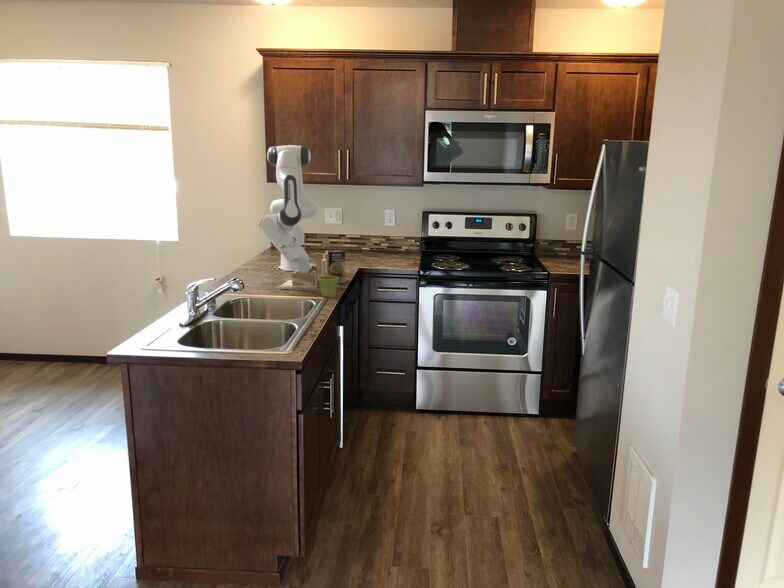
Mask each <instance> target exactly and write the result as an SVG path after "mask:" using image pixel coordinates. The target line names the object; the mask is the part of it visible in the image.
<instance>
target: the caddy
mask: <svg viewBox="0 0 784 588" xmlns="http://www.w3.org/2000/svg"><path fill="white" fill-rule="evenodd" d="M321 276H328V254H326V253H324V254H323V259H322V258H320V257H317V258H316V270H313V269H311V270H309V273H299V270H296V271H292V273H291V279H288V280H286V281H285V282H283V283H282V284H280V285H279V290H283V289H289V290H288V291H303V290H305V291H307V292H321V286H320V282H319V279H318V277H321Z"/></svg>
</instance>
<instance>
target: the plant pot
mask: <svg viewBox="0 0 784 588" xmlns="http://www.w3.org/2000/svg"><path fill="white" fill-rule="evenodd" d="M318 279H319V282H320V286H321V291H320V292H321V297H323V298H326V297H327V298H334V297H335V296H336V292H337V285H338V283H337V282H338V279H339V277H337V276H321V277H318Z"/></svg>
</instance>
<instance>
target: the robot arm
mask: <svg viewBox="0 0 784 588" xmlns="http://www.w3.org/2000/svg"><path fill="white" fill-rule="evenodd" d="M266 155H267V156H266V157H267V158H266V159H267V161H268V164H269V165H270V166H272V167H275V177H276V179H275V180H276V182H277V185H278V186H279V187H280V188H281V189H282V191H283V198H280V199H274V200H273V201H272V202H271V204H270V206H269V207H270V210H269V211H270V214H266V215H265V216H264V217H263V218H262V220H261V221H260V222H259V226H258V227H259V230H260V232H261V233H262V234H263V235H264V237H265V238H266V239H267V240H268V241H270V242H271V243H272V244H273V246H274V247H275V248H276V249H277V250H278V251H279V252H280V265H279V266H278V269H279V268H280V270H282V271H285V272H286V271H289V272H295V271H296V270H299V265H300V266H301V267H304V266H305V263H304V262H302V261H301V260H300V259H299V257H300V256H309V255H308V254H307V252H306V244H307V243H305V231H304V229H303V228H302V227H301V226H299V225H297V224H298V223H299V222H300V221H301V220H310V219H311V220H312V219H314V218H315V217H316V216H317V213H318V205H317V204H316V202H315V201H314V200H312V199H311V198H310V197H309V196H308V195H307V193H306V191H305V189H304V188H305V187H304V183H303V170H302V169H303V168H302V167H306V166H308V165H310V161H311V158H312V156H311V151H310V149H309V147H308V146H305V145H294V144H288V145H278V146H277V145H274V146H270V147H269V148H268V150H267V154H266ZM312 267H313V263H309V270H310V269H311V270H312Z"/></svg>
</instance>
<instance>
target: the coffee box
mask: <svg viewBox="0 0 784 588" xmlns="http://www.w3.org/2000/svg"><path fill="white" fill-rule="evenodd" d="M325 254H328V276H337V277H339V279H338V282H337V284H343V283H346V251H345V250H344V249H334V250H333V249H331V250H330V249H329V250H328V249H326V250H325Z"/></svg>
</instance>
